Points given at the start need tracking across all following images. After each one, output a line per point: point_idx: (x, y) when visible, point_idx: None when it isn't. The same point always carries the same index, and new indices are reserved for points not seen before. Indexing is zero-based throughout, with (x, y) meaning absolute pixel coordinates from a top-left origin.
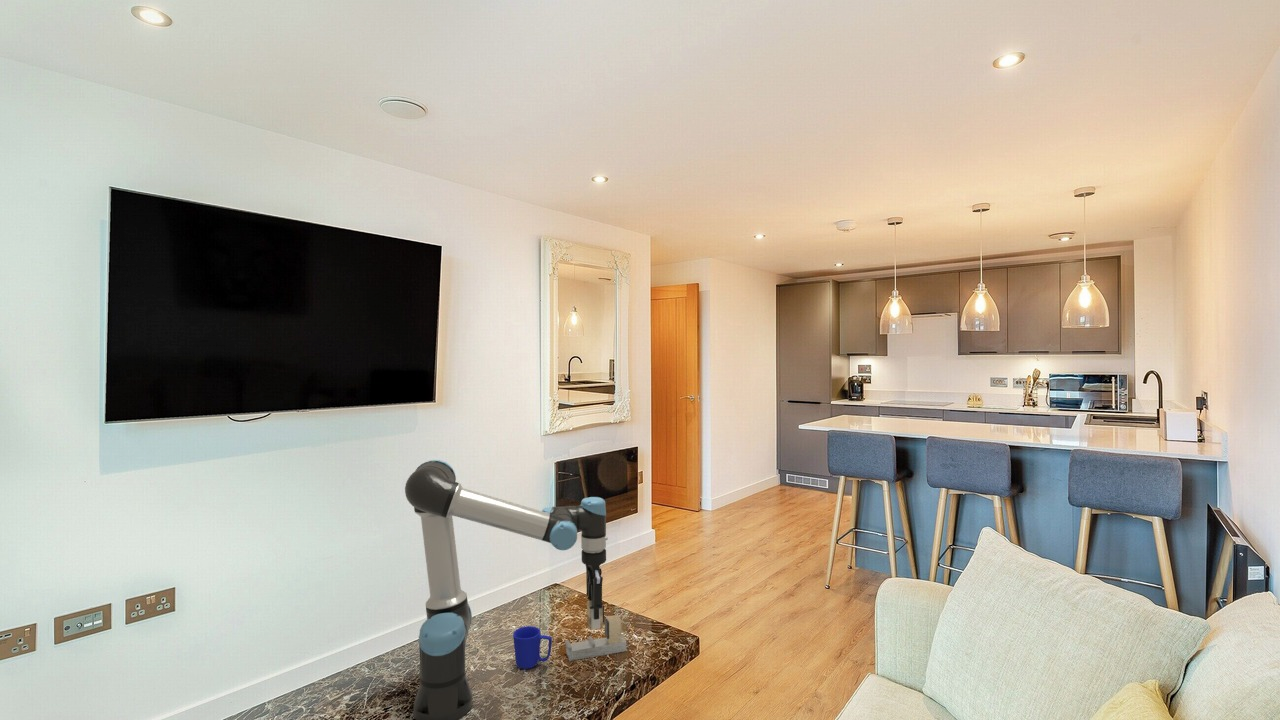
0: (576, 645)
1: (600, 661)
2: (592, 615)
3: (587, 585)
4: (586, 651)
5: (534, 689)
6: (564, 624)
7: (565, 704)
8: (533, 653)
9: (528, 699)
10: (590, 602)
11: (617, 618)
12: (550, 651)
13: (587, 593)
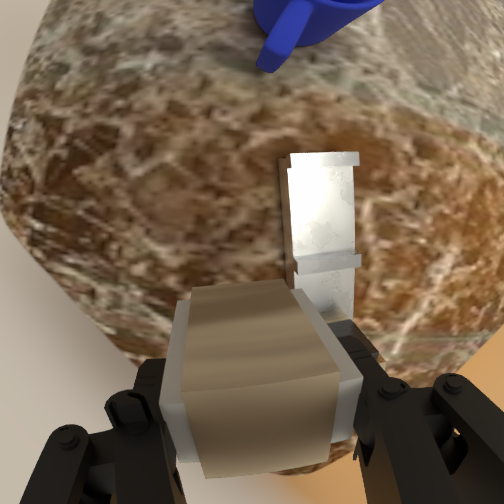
0: (329, 195)
1: (246, 273)
2: (169, 363)
3: (495, 457)
4: (289, 231)
5: (122, 34)
6: (490, 187)
7: (23, 137)
8: (263, 5)
9: (77, 26)
10: (308, 403)
11: None
12: (265, 69)
13: (442, 399)
